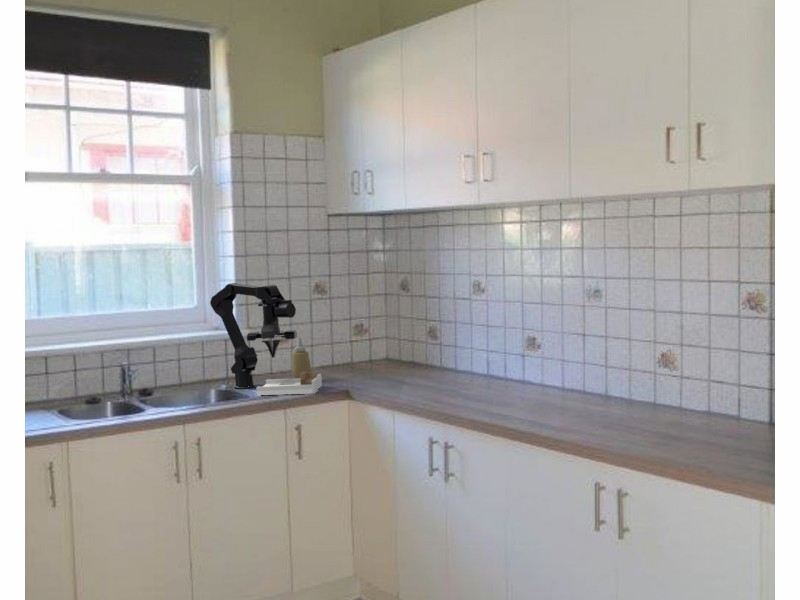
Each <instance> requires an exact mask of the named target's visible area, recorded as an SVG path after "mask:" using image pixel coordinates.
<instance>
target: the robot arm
mask: <svg viewBox="0 0 800 600" xmlns="http://www.w3.org/2000/svg"><path fill="white" fill-rule="evenodd" d="M237 295H242V296H249V297H250V296H252V297H254V298H256V299H258V300H261V301H260V302H259V303H258V304H257V306H258V307H262V316H263V322H262V328H261V330H260V331H251V332H248V333H247V334H246V340H245V338H244V336H243V333H242V331H241V329H240V326H239V324H238V322H237V319H236V317H235V315H234V301H235V299H236V298H237ZM292 301H293V300H292V299H285V298H284V296H283V295H282V293H281V292H280V290H279V288H278V286H277V285H276V284H271V285H270V284H268V285H267V284H266V285H260V286H258V285H250V284H243V283H242V284H241V283H237V282H233V283H228V284H226V285H225V286H224V287H223V288H222V289H220V290H219V291H218V292H217V293H215V294H214V295H213V296H212V297H211V299H210V302H209V305H210V306H211V308H212V310H213V312H214V313H215V314H216V315H217V316H219V317H220V318H221V321H222V322H223V326H224V327H225V330H226V332H227V335H228V336H229V340H230V342H231V344H232V347H233V349H234V353H233V354H234V357H233V359H234V363H233V365H231V367H230V370H231V373H232V374H234V376H235V378H234V379H235V387H236V386H238V387H248V386H249V387H250V386H253V385H254V386H255V376H254V374H253V372H254V371H255V370H256V367H257V363H258V354H257V353H256V349H255V348H254V347H253V346H251V347H250V346H248V345H247V343H246V341H248V342H249V341H250V342H251V341H256V340H259V339H262V340H261V343H264V344H265V345H266V346H267V349H268V351H269V353H270V355H271V358H272V359H273V358H275V357H276V354H277V350H278V347H279V344H280V342H282V341H284V340H283V338H284V339H285V340H293V339H297V338H298V331H297V330H296V329H291V330H285V331H284V332H281V328H280V326H279V324H280V323H279V321H280V320H279V318H280V319H281V318H282V319H285V318H289V319H291V318H294V317H295V315H296V312H297V309H296V306H295V304H294V303H292ZM254 386H253V387H254Z"/></svg>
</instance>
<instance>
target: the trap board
mask: <svg viewBox="0 0 800 600" xmlns="http://www.w3.org/2000/svg"><path fill="white" fill-rule="evenodd" d="M322 380H323V379H322V373H318V374H317V375H316V377H315V378H314V379H313V380H312V385H301V381H300V378H295V379H294V378H275V379H274V378H273V379H265V384H264V385H263V386H256V396H257V397H262V396H261V395H270V394H271V395H272V394H305V395H308V394H307V393H316V392H317V393H318V392H319V390H320V389H321V388H322V387H323V381H322ZM321 386H322V387H321ZM320 387H321V388H320ZM319 388H320V389H319ZM318 389H319V390H318ZM317 393H316V394H317Z"/></svg>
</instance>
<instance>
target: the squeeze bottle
mask: <svg viewBox="0 0 800 600" xmlns="http://www.w3.org/2000/svg"><path fill="white" fill-rule="evenodd" d="M291 356H292V357H291V359H292V360H291V376H292V379H295V378H300V373H302V372H305V371H312V367H311V361H310V354H309V352H308V351H307V347H306V346H304V344H303V341H302V337H297V342H296V346H295V347H294V352H293V353H292V355H291Z"/></svg>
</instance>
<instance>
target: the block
mask: <svg viewBox="0 0 800 600" xmlns="http://www.w3.org/2000/svg"><path fill="white" fill-rule="evenodd" d="M316 376H317V375H316V371H315V370H311V371H305V372H302V373H300V381H301V385H312V380H313V379H314V378H315V377H316Z"/></svg>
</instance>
